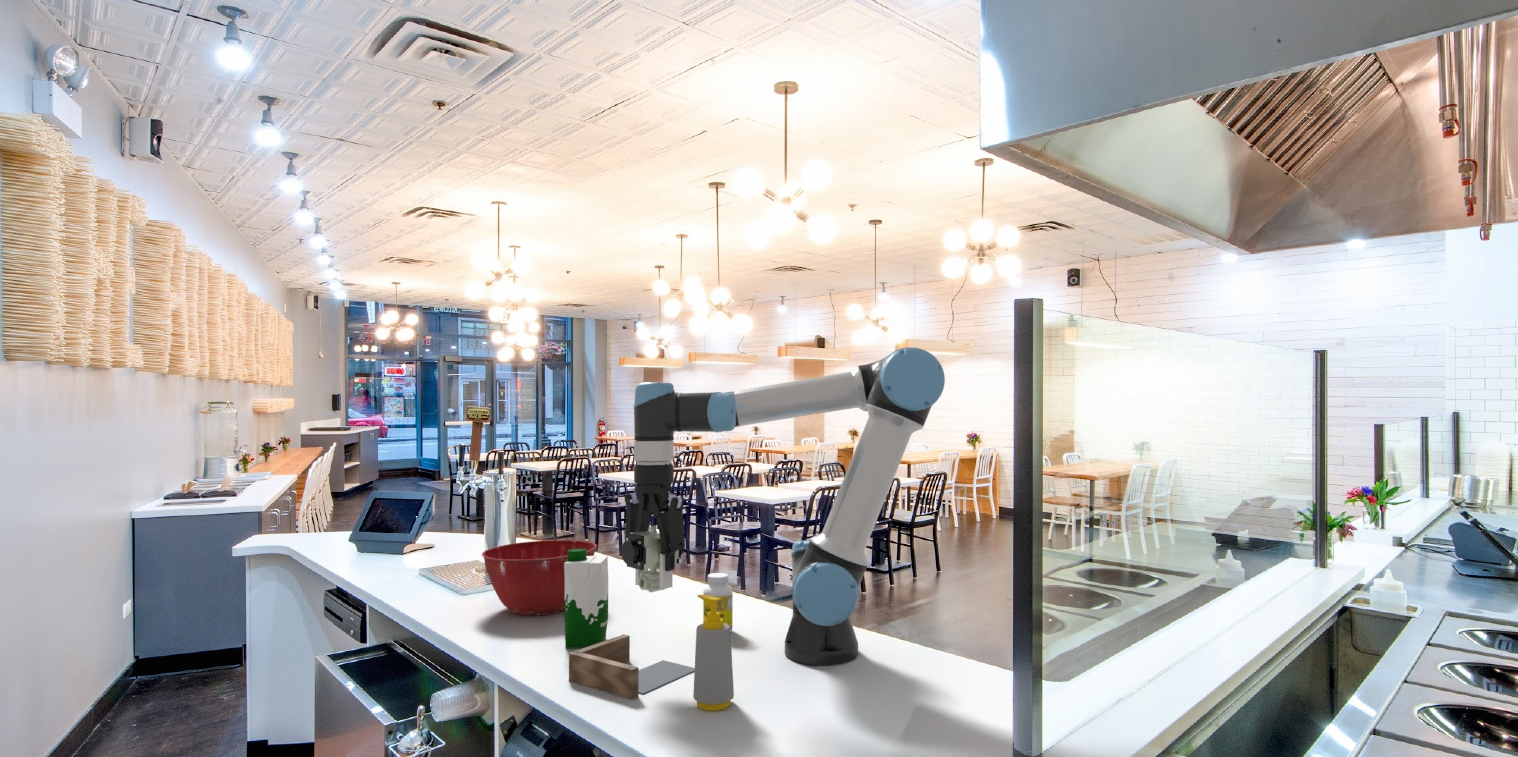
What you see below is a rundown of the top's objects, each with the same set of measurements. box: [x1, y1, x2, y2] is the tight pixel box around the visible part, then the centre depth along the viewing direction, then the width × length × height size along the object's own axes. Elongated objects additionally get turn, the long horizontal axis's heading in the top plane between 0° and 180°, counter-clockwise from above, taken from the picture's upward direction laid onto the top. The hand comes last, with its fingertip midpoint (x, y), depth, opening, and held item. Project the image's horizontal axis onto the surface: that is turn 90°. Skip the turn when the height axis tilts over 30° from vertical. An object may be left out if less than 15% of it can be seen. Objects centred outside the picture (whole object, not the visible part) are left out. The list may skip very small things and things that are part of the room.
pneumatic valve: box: [620, 525, 685, 593], centre depth 138 cm, size 6×12×12 cm, turn 134°
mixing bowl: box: [481, 539, 598, 616], centre depth 186 cm, size 28×28×16 cm
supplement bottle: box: [702, 572, 734, 633], centre depth 164 cm, size 7×7×13 cm
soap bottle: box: [693, 594, 735, 712], centre depth 123 cm, size 7×7×18 cm
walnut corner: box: [568, 634, 640, 700], centre depth 136 cm, size 16×14×5 cm
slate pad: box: [638, 659, 695, 695], centre depth 136 cm, size 9×15×1 cm, turn 145°
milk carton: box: [563, 548, 609, 649], centre depth 157 cm, size 9×9×20 cm
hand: (653, 585), depth 137 cm, fingers closed on pneumatic valve, 6 cm apart
